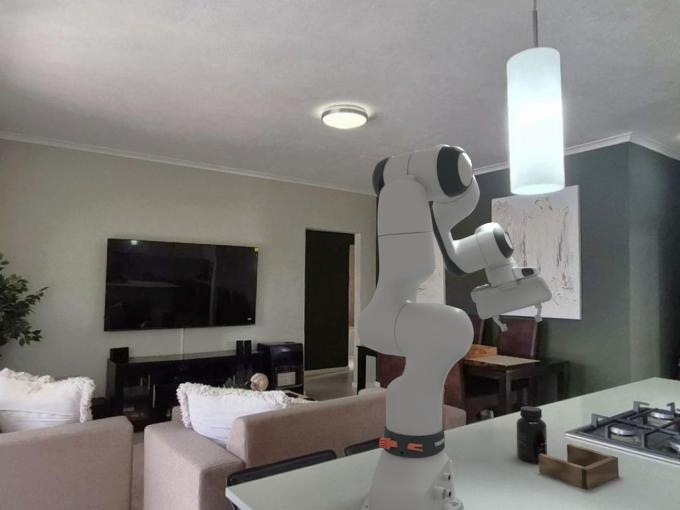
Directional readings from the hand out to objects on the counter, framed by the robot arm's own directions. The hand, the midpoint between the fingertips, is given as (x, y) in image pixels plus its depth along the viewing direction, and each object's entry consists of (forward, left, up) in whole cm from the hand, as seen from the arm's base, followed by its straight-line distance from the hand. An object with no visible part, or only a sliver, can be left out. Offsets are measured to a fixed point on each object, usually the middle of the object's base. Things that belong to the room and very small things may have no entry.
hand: (522, 326), depth 134 cm
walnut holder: (-21, -13, -30) cm, 39 cm away
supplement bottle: (-15, -3, -31) cm, 34 cm away
